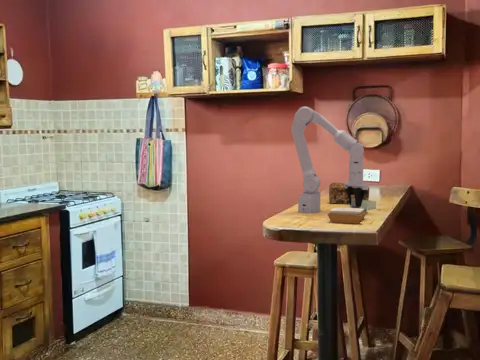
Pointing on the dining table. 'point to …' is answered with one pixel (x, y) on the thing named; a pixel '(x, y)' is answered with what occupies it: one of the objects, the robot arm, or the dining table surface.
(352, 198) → the jar with copper lid
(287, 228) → the dining table surface
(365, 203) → the bin
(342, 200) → the bread
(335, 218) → the soap dish
